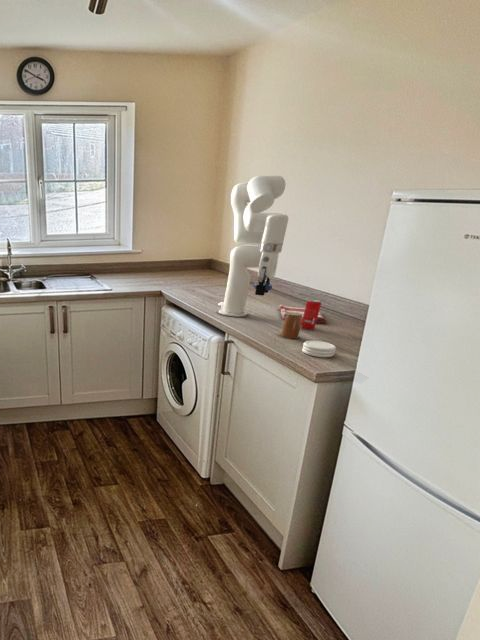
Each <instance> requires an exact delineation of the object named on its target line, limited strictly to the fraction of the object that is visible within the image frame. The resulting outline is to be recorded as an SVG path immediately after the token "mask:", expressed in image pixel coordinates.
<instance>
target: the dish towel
mask: <svg viewBox="0 0 480 640" xmlns="http://www.w3.org/2000/svg"><path fill="white" fill-rule="evenodd" d="M278 308H279V309H278V310H279V313H280V315H281V317H282V320H284V321H285V317H286V316H287V313H289V312H296V313H301V314H302V318H303V315H304V311H305V308H306V307H301V306H287V305H283V304H280V305H279V306H278ZM326 322H327V319H326V317H324V316H323V314H322V313H321V312H320V311H319V314H318V317H317V321H316V323H319V324H324V323H326Z"/></svg>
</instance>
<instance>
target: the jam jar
mask: <svg viewBox="0 0 480 640" xmlns="http://www.w3.org/2000/svg"><path fill="white" fill-rule="evenodd" d="M302 319H303V318H302V314H301V313H296V312H289V313H287V316H286V317H285V320H284V321H283V326H282V330H281V334H280V336H281V337H282V338H284V339H292V340H293V339H295V340H296V339H298V338H299V334H300V331H301V328H302V326H301V323H302Z"/></svg>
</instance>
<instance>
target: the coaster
mask: <svg viewBox="0 0 480 640" xmlns="http://www.w3.org/2000/svg"><path fill="white" fill-rule="evenodd" d="M336 349H337V347H336V346H335V345H334V344H332V343H329V342H326V341H322V340H306V341H304V342H303V344H302V349H301V352H302V353H303V354H305V355H308V356H311V357H317V358H323V359H324V358H325V359H326V358H333V357H334V355H335V352H336Z"/></svg>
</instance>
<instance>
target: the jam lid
mask: <svg viewBox="0 0 480 640" xmlns="http://www.w3.org/2000/svg"><path fill="white" fill-rule="evenodd" d="M257 283H258V282H254V284H253V289H254V290H256V287H257ZM265 285H266V288H265V290H268V291H272V289H273V284H271V283H270V284H267V283H266V284H265Z"/></svg>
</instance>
